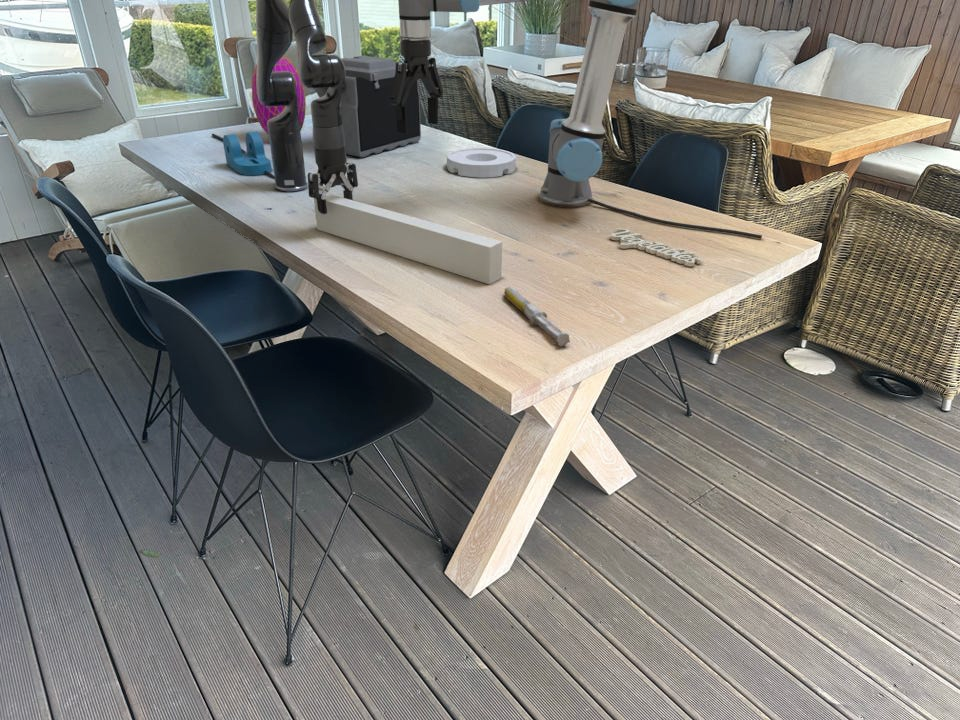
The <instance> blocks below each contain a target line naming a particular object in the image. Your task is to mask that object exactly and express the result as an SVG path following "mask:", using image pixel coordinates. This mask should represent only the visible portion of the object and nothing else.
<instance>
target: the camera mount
mask: <svg viewBox="0 0 960 720" xmlns="http://www.w3.org/2000/svg"><path fill="white" fill-rule="evenodd" d="M222 138H223V141H222V143H223V149H224V150H223V151H224V156H225V161H226V165H227V166H228V167H230V168H231V169H232V170H234V171H236V172H237V173H238V174H239V175H244V176H260V175H266V174H265V173H264V172H265V170H266V171H268V172H269V173H271V172H272V164H271V159H270V158H268V157H267V156H266V153H265V145H264V141H263V139H262V136H261V134H260V132H258V131H247V132H246V133H245V146H246V152H247V153H242V150H241V149H242V146H241V142H240V140H239V138H238V135H236V134H235V133H231V134H224V135H223V137H222Z"/></svg>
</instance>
